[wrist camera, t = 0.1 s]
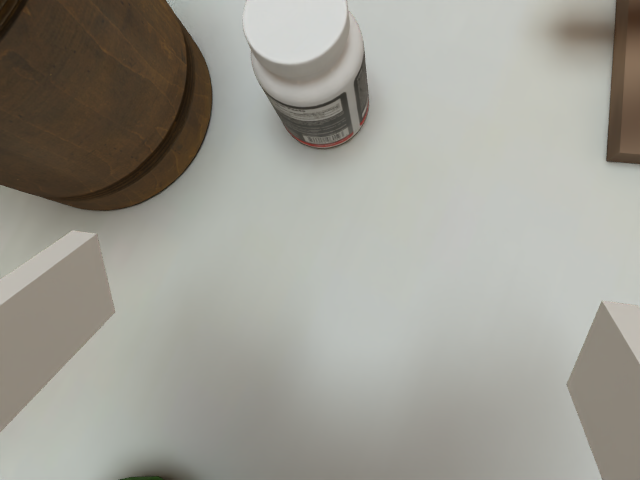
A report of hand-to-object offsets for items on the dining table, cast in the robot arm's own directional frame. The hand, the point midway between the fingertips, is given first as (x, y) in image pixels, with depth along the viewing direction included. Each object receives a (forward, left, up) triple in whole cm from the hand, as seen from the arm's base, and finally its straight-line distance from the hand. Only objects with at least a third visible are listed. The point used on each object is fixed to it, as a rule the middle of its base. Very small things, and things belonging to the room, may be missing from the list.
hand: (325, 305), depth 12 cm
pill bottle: (+12, +4, -16) cm, 20 cm away
